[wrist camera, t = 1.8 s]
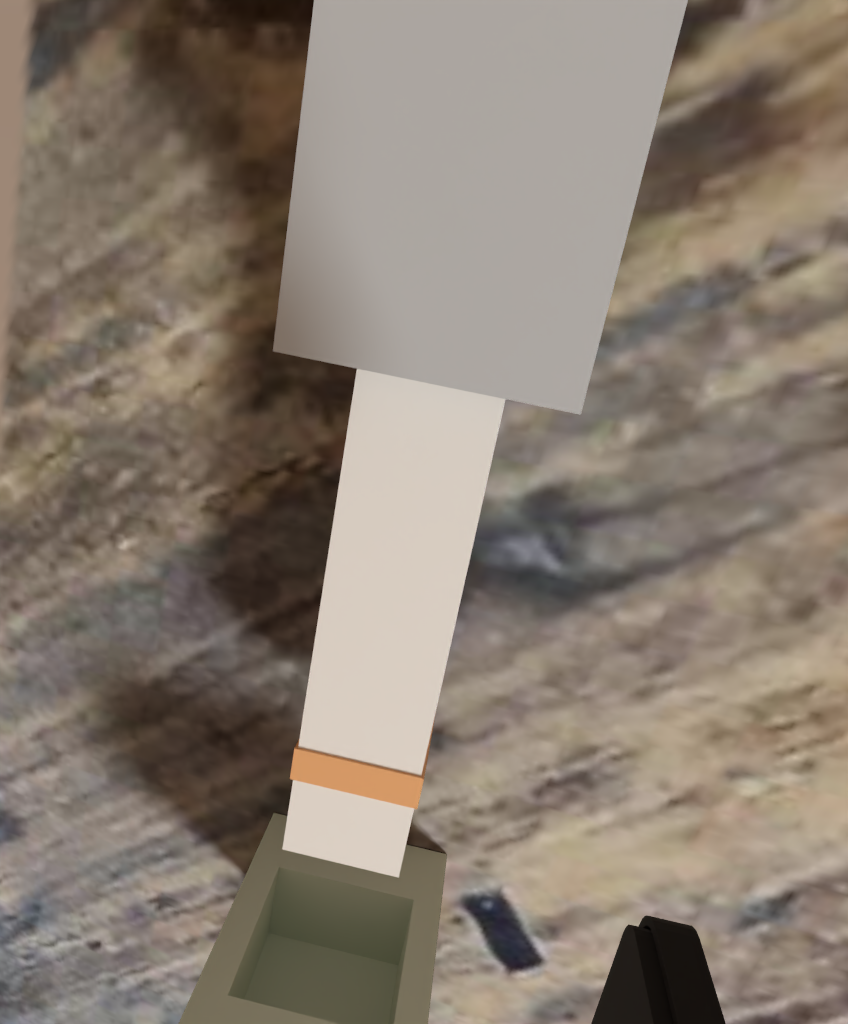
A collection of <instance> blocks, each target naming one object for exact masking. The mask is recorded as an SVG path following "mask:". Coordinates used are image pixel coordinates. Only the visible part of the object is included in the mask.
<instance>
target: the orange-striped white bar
mask: <svg viewBox="0 0 848 1024" xmlns="http://www.w3.org/2000/svg"><path fill="white" fill-rule="evenodd" d="M504 404H505V399H502V398H498V397H493V396H488V395H483V394H478V393H473V392H468V391H463V390H459V389H454V388H449V387H444V386H439V385H434V384H429V383H425V382H420V381H415V380H410V379H405V378H400V377H395V376H390V375H386V374H381V373H376V372H371V371H366V370H361V369H357V371H356V378H355V384H354V391H353V397H352V403H351V410H350V416H349V423H348V429H347V436H346V442H345V449H344V455H343V461H342V468H341V474H340V481H339V487H338V494H337V500H336V507H335V513H334V519H333V526H332V532H331V539H330V545H329V552H328V558H327V565H326V571H325V577H324V584H323V590H322V597H321V603H320V610H319V616H318V623H317V629H316V635H315V642H314V648H313V655H312V661H311V668H310V674H309V681H308V687H307V693H306V700H305V706H304V713H303V719H302V726H301V732H300V738H299V740H298V742H297V744H296V746H295V748H294V754H293V761H292V767H291V774H290V779H292V780H293V784H292V790H291V797H290V803H289V809H288V816H287V822H286V829H285V835H284V842H283V848H282V849H283V850H287V851H291V852H295V853H299V854H303V855H307V856H312V857H316V858H320V859H324V860H328V861H332V862H336V863H340V864H345V865H349V866H353V867H357V868H361V869H365V870H369V871H373V872H378V873H382V874H386V875H390V876H394V877H398V878H399V874H400V870H401V865H402V861H403V856H404V852H405V847H406V843H407V838H408V834H409V829H410V825H411V820H412V816H413V811H414V809H417V807H418V803H419V798H420V794H421V790H422V785H423V781H424V776H425V770H426V764H427V759H428V753H429V747H430V742H431V736H432V731H433V725H434V719H435V714H436V708H437V704H438V699H439V695H440V690H441V686H442V681H443V677H444V672H445V668H446V663H447V659H448V654H449V650H450V646H451V641H452V637H453V632H454V628H455V623H456V619H457V614H458V610H459V605H460V601H461V596H462V592H463V587H464V583H465V578H466V574H467V569H468V565H469V560H470V556H471V551H472V547H473V542H474V538H475V534H476V529H477V525H478V520H479V516H480V511H481V507H482V502H483V498H484V493H485V489H486V484H487V480H488V475H489V471H490V466H491V462H492V457H493V453H494V448H495V444H496V439H497V435H498V430H499V426H500V421H501V417H502V413H503V408H504Z"/></svg>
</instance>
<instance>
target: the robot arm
mask: <svg viewBox="0 0 848 1024" xmlns="http://www.w3.org/2000/svg"><path fill="white" fill-rule="evenodd" d="M592 1024H725V1020H724V1017H723V1014H722V1011H721V1007H720V1004H719V1001H718V998H717V994H716V991H715V988H714V984H713V981H712V978H711V975H710V971H709V968H708V965H707V962H706V958H705V955H704V952H703V949H702V945H701V942H700V939H699V936H698V934H697V932H696V930H695V929H694V928H693V927H692V926H690V925H685V924H681V923H677V922H672V921H668V920H664V919H660V918H655V917H651V916H645V917H644V918H643V919H642V921H641V923H640V925H639V927H637V926H633V925H628V926H627V927H626V928H625V930H624V932H623V935H622V938H621V941H620V944H619V947H618V950H617V952H616V955H615V958H614V961H613V964H612V967H611V969H610V972H609V975H608V978H607V981H606V984H605V987H604V989H603V992H602V995H601V998H600V1001H599V1004H598V1006H597V1009H596V1012H595V1015H594V1018H593V1021H592Z"/></svg>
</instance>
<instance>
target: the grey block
mask: <svg viewBox="0 0 848 1024" xmlns="http://www.w3.org/2000/svg"><path fill="white" fill-rule="evenodd" d="M687 1H688V0H314V5H313V14H312V22H311V31H310V39H309V48H308V56H307V65H306V73H305V82H304V90H303V99H302V107H301V116H300V124H299V133H298V141H297V150H296V158H295V167H294V175H293V184H292V192H291V201H290V209H289V218H288V226H287V235H286V243H285V252H284V260H283V269H282V277H281V286H280V294H279V303H278V311H277V320H276V328H275V337H274V345H273V351H274V352H279V353H283V354H288V355H293V356H298V357H303V358H308V359H313V360H317V361H322V362H327V363H332V364H337V365H342V366H347V367H352V368H356V369H361V370H366V371H371V372H376V373H381V374H386V375H390V376H395V377H400V378H405V379H410V380H415V381H420V382H425V383H429V384H434V385H439V386H444V387H449V388H454V389H459V390H463V391H468V392H473V393H478V394H483V395H488V396H493V397H498V398H502V399H507V400H512V401H517V402H522V403H527V404H532V405H536V406H541V407H546V408H551V409H556V410H561V411H566V412H571V413H575V414H580V415H581V411H582V408H583V404H584V400H585V396H586V392H587V388H588V384H589V380H590V377H591V373H592V369H593V365H594V361H595V357H596V353H597V349H598V346H599V342H600V338H601V334H602V330H603V326H604V322H605V318H606V315H607V311H608V307H609V303H610V299H611V295H612V291H613V288H614V284H615V280H616V276H617V272H618V268H619V264H620V260H621V257H622V253H623V249H624V245H625V241H626V237H627V233H628V229H629V226H630V222H631V218H632V214H633V210H634V206H635V202H636V198H637V195H638V191H639V187H640V183H641V179H642V175H643V171H644V167H645V164H646V160H647V156H648V152H649V148H650V144H651V140H652V137H653V133H654V129H655V125H656V121H657V117H658V113H659V109H660V106H661V102H662V98H663V94H664V90H665V86H666V82H667V78H668V75H669V71H670V67H671V63H672V59H673V55H674V51H675V47H676V44H677V40H678V36H679V32H680V28H681V24H682V20H683V16H684V13H685V9H686V5H687Z"/></svg>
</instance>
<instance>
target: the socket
mask: <svg viewBox="0 0 848 1024" xmlns="http://www.w3.org/2000/svg"><path fill="white" fill-rule="evenodd" d="M286 822H287V816H285V815H281V814H277V813H273V815H272V818H271V820H270V822H269V824H268V827H267V829H266V831H265V833H264V835H263V838H262V840H261V842H260V844H259V847H258V849H257V851H256V853H255V855H254V858H253V860H252V862H251V864H250V867H249V869H248V871H247V873H246V875H245V878H244V880H243V882H242V884H241V887H240V889H239V891H238V893H237V895H236V898H235V900H234V902H233V904H232V907H231V909H230V911H229V913H228V915H227V918H226V920H225V922H224V924H223V927H222V929H221V931H220V933H219V935H218V938H217V940H216V942H215V944H214V946H213V949H212V951H211V953H210V955H209V958H208V960H207V962H206V964H205V966H204V969H203V971H202V973H201V975H200V978H199V980H198V982H197V984H196V986H195V989H194V991H193V993H192V995H191V998H190V1000H189V1002H188V1004H187V1006H186V1009H185V1011H184V1013H183V1015H182V1018H181V1020H180V1022H179V1024H428V1017H429V1008H430V999H431V990H432V982H433V973H434V964H435V955H436V947H437V938H438V929H439V920H440V912H441V903H442V894H443V885H444V877H445V868H446V859H447V854H444V853H439V852H435V851H431V850H427V849H423V848H419V847H414V846H410V845H406V847H405V852H404V856H403V861H402V865H401V870H400V874H399V878H398V877H394V876H390V875H386V874H382V873H378V872H373V871H369V870H365V869H361V868H357V867H353V866H349V865H345V864H340V863H336V862H332V861H328V860H324V859H320V858H316V857H312V856H307V855H303V854H299V853H295V852H291V851H287V850H283V849H282V848H283V842H284V835H285V829H286Z"/></svg>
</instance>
